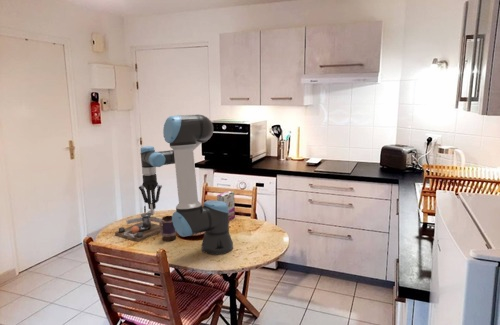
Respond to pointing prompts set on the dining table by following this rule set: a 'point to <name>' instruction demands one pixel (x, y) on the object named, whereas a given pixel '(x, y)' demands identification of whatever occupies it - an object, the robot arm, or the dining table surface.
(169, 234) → the mug
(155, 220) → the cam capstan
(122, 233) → the walnut stand
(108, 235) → the dining table surface
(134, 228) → the ball
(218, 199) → the candy bar box
